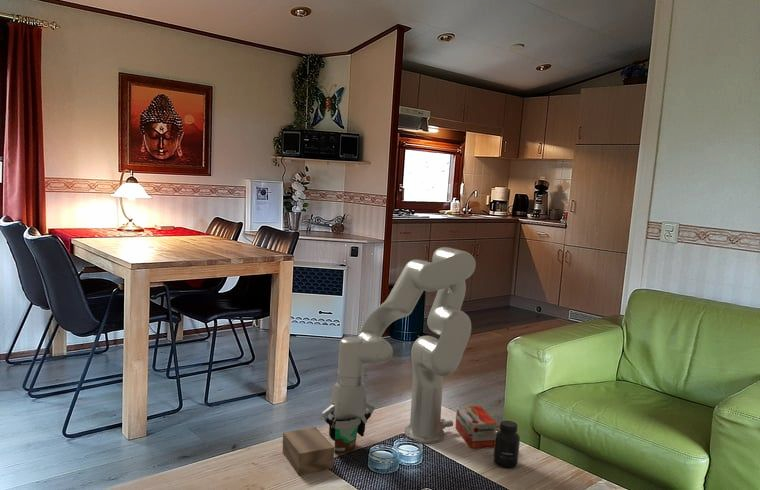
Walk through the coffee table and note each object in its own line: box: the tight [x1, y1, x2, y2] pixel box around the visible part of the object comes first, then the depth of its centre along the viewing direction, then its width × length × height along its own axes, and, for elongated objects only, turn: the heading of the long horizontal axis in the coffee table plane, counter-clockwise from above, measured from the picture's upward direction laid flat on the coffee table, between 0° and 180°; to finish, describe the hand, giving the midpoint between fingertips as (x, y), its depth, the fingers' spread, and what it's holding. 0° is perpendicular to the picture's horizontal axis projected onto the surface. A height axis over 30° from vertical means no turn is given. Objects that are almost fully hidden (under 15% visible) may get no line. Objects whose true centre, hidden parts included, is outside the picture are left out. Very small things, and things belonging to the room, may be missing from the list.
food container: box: [334, 417, 361, 454], centre depth 169 cm, size 12×6×10 cm, turn 170°
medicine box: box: [455, 405, 497, 450], centre depth 180 cm, size 15×8×8 cm, turn 11°
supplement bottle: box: [493, 420, 521, 470], centre depth 164 cm, size 7×7×12 cm
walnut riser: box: [282, 426, 335, 476], centre depth 160 cm, size 10×14×6 cm
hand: (346, 436), depth 169 cm, fingers closed on food container, 8 cm apart
